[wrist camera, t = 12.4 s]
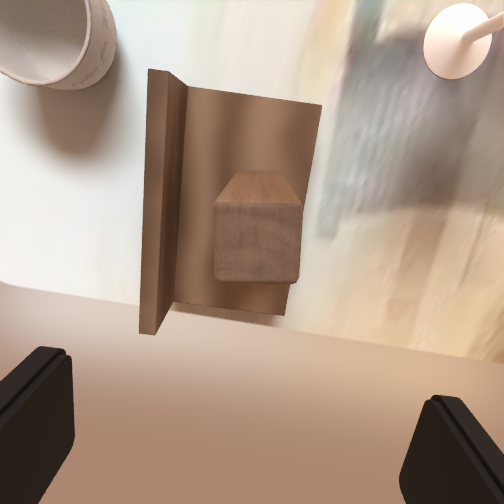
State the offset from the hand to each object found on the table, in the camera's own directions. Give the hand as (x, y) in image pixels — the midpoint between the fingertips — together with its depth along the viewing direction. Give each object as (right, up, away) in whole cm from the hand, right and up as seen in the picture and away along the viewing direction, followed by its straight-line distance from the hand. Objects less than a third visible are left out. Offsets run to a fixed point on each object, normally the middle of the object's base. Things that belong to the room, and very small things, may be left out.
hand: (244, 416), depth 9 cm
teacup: (-17, +27, +26) cm, 41 cm away
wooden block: (+1, +8, +26) cm, 28 cm away
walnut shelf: (-2, +10, +31) cm, 32 cm away
